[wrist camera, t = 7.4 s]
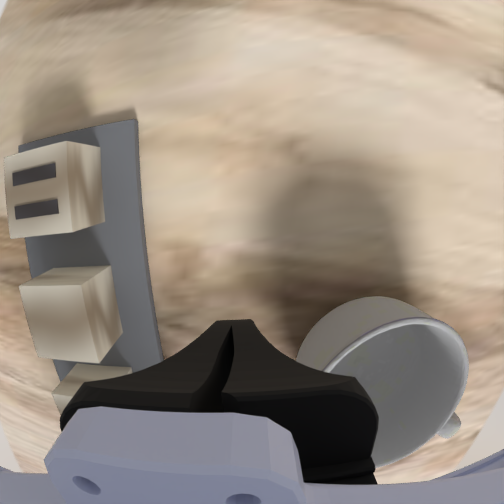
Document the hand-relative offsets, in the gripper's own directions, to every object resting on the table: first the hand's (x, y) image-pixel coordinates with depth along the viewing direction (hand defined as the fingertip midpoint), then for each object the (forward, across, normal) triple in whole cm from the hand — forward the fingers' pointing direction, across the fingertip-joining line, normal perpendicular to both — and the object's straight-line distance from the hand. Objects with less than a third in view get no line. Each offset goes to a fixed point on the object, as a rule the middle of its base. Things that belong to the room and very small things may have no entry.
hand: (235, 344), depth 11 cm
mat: (+10, +11, +2) cm, 15 cm away
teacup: (+11, -9, +8) cm, 16 cm away
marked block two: (+10, +11, -6) cm, 16 cm away
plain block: (+10, +11, +2) cm, 15 cm away
